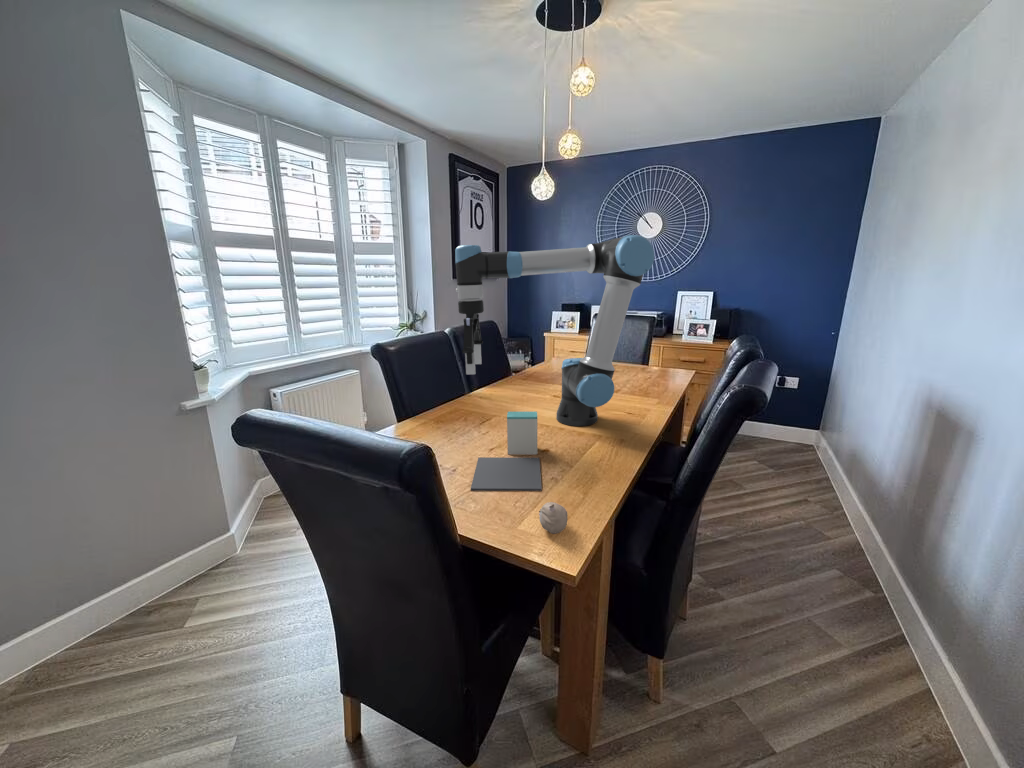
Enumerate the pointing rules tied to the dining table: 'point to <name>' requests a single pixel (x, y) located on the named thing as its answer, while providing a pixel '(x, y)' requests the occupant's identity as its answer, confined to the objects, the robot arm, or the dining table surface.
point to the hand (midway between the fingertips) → (474, 368)
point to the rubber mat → (507, 474)
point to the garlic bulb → (553, 517)
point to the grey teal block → (522, 432)
